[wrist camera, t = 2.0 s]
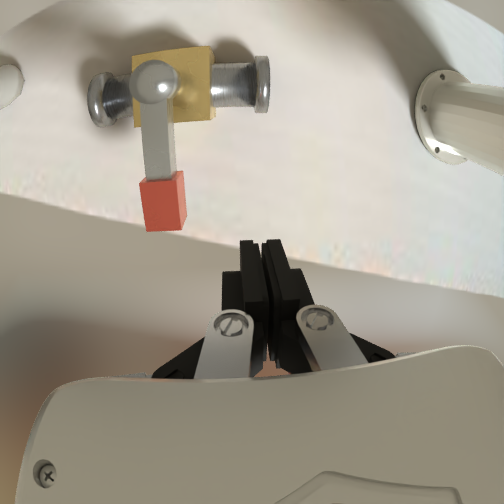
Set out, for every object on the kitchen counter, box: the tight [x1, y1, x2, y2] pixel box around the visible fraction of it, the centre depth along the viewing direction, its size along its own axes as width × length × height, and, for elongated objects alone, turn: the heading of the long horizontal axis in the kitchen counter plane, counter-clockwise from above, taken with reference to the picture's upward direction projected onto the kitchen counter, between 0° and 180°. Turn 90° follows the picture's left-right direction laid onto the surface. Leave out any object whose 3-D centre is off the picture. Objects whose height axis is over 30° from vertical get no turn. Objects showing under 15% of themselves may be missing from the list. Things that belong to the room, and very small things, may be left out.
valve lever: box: [129, 60, 187, 232], centre depth 17 cm, size 12×3×3 cm, turn 0°
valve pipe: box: [87, 46, 270, 128], centre depth 20 cm, size 16×6×9 cm, turn 90°
